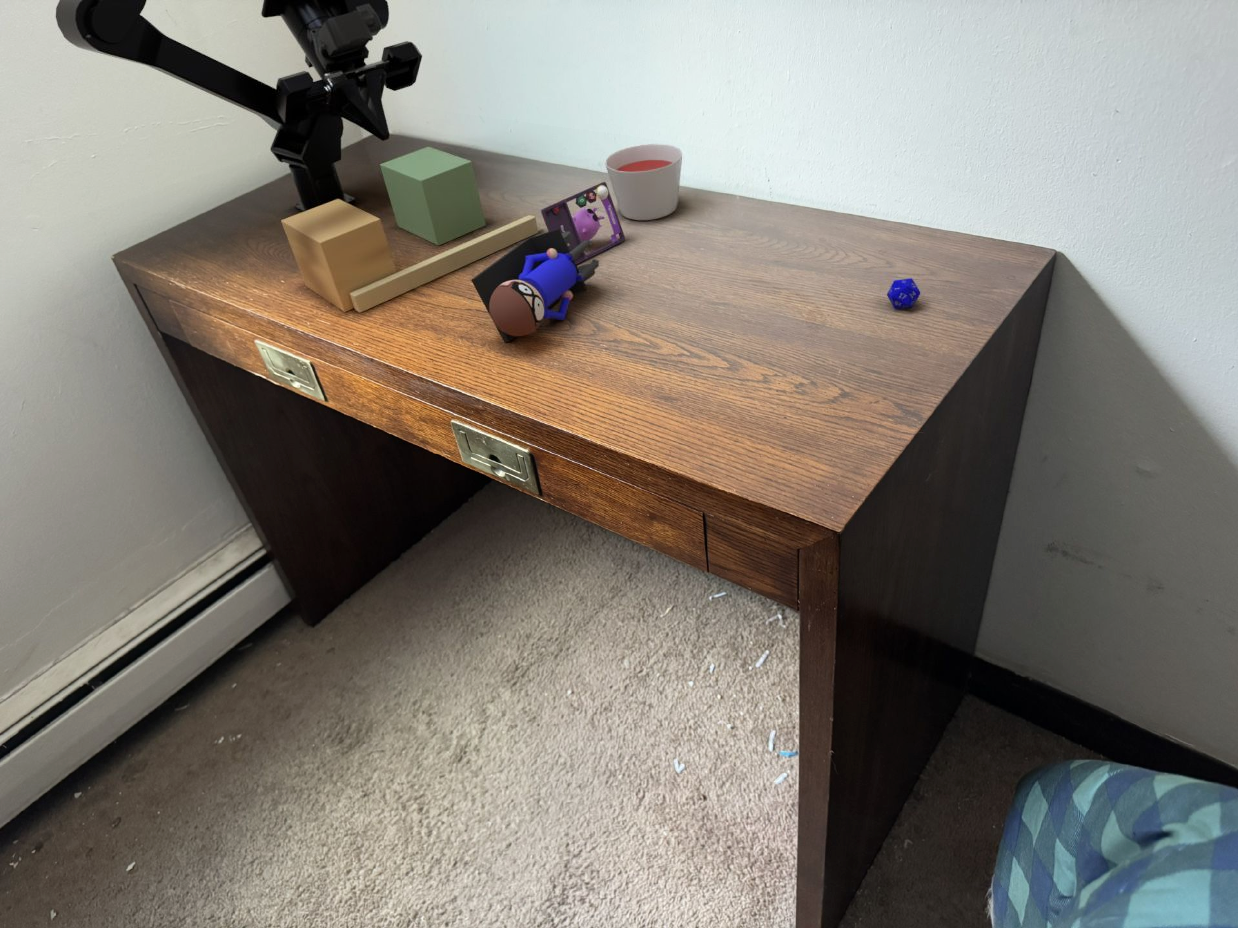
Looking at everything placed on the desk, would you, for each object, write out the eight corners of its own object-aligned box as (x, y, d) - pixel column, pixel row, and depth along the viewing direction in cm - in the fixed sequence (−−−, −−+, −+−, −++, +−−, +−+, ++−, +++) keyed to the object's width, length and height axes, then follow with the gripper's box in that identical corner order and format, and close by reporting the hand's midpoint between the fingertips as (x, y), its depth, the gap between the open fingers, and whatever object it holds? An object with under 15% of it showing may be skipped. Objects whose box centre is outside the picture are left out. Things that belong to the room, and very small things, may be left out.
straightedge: (354, 309, 93) (348, 293, 92) (532, 230, 104) (529, 214, 103) (359, 313, 92) (354, 296, 91) (538, 232, 103) (535, 216, 102)
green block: (397, 226, 110) (379, 164, 105) (444, 207, 113) (428, 146, 108) (438, 246, 104) (420, 180, 99) (486, 225, 107) (471, 161, 102)
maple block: (305, 286, 99) (280, 220, 94) (360, 263, 103) (338, 198, 98) (344, 312, 93) (319, 242, 88) (401, 287, 96) (380, 218, 91)
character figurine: (613, 290, 90) (528, 364, 81) (556, 275, 93) (468, 345, 84) (608, 220, 85) (517, 290, 76) (547, 206, 88) (452, 273, 79)
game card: (545, 208, 91) (609, 180, 95) (521, 214, 95) (583, 187, 100) (568, 269, 94) (629, 239, 98) (543, 272, 98) (603, 243, 102)
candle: (604, 226, 102) (597, 173, 98) (620, 196, 109) (614, 145, 105) (679, 224, 100) (675, 170, 96) (691, 194, 107) (687, 142, 103)
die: (920, 301, 80) (929, 287, 78) (900, 319, 80) (908, 306, 77) (898, 282, 81) (906, 267, 78) (878, 300, 81) (886, 285, 78)
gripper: (248, 4, 97) (323, 120, 97) (393, -32, 106) (462, 75, 105) (248, 70, 107) (316, 176, 107) (381, 33, 116) (444, 130, 115)
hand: (386, 138), depth 108 cm, fingers closed
